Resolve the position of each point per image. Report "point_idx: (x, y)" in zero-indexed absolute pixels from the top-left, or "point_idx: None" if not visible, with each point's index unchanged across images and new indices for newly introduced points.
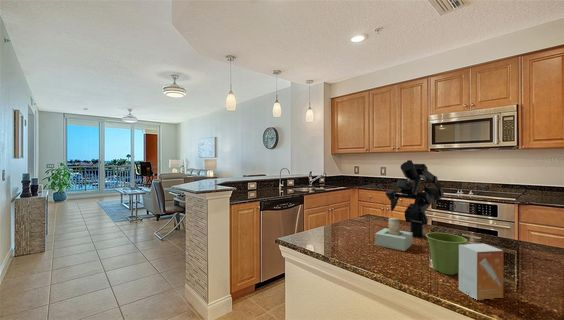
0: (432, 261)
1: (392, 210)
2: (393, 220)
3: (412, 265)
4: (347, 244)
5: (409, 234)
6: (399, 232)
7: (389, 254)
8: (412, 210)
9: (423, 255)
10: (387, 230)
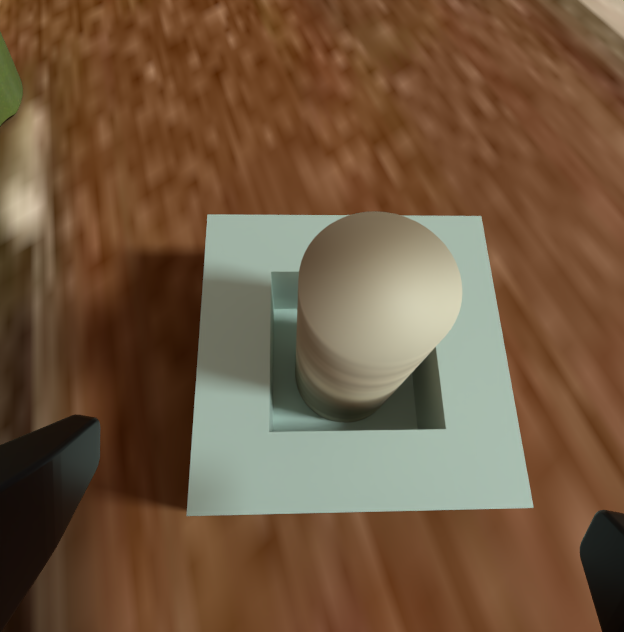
0: (4, 41)
1: (585, 549)
2: (358, 214)
3: (131, 77)
4: (591, 169)
5: (200, 396)
6: (296, 346)
7: (288, 155)
8: (45, 428)
9: (88, 264)
10: (452, 407)
